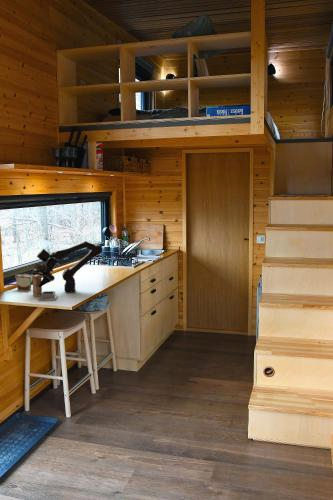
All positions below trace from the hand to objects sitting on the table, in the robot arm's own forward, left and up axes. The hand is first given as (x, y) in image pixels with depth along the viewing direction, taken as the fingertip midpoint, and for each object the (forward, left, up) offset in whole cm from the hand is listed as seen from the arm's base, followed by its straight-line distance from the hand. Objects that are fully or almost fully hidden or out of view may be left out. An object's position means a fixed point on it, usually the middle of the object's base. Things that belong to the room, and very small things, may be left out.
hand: (35, 285), depth 311 cm
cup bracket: (-9, +8, -7) cm, 14 cm away
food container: (+9, -20, -7) cm, 23 cm away
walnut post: (-1, -1, -7) cm, 7 cm away
